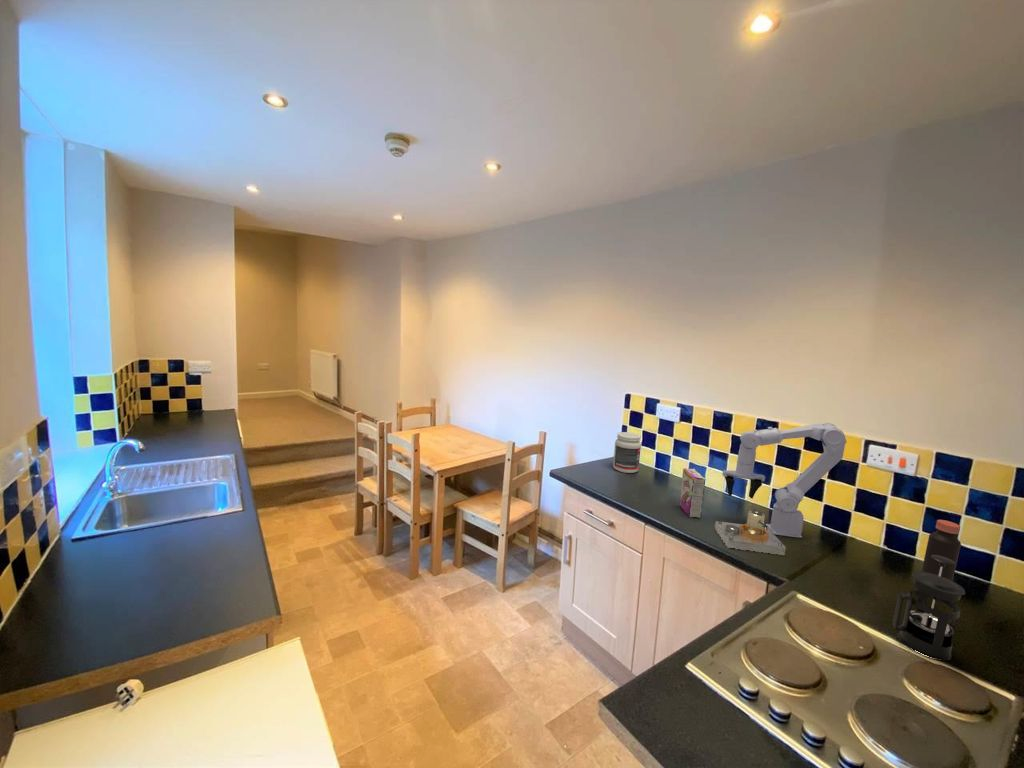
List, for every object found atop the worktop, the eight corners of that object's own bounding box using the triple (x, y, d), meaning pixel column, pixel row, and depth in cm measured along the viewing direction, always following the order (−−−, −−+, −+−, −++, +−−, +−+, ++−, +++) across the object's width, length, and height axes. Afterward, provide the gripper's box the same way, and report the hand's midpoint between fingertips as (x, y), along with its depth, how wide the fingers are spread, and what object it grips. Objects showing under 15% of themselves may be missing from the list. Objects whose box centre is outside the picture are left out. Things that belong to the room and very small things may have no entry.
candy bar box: (678, 505, 178) (682, 467, 175) (690, 506, 178) (694, 468, 175) (688, 517, 167) (693, 477, 164) (701, 518, 167) (706, 478, 164)
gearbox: (766, 535, 156) (768, 523, 155) (784, 555, 142) (786, 543, 141) (714, 528, 159) (716, 517, 158) (727, 548, 145) (728, 535, 144)
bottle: (914, 579, 132) (927, 519, 129) (927, 576, 135) (940, 517, 132) (942, 593, 126) (957, 530, 123) (955, 589, 128) (970, 527, 125)
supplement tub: (642, 474, 213) (646, 438, 210) (618, 474, 211) (621, 438, 208) (632, 465, 226) (635, 431, 223) (609, 465, 224) (612, 431, 221)
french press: (940, 639, 106) (960, 554, 103) (964, 667, 97) (987, 575, 94) (882, 625, 110) (899, 542, 107) (900, 650, 101) (920, 561, 98)
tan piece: (756, 530, 152) (760, 508, 151) (768, 541, 145) (773, 518, 144) (742, 529, 152) (746, 507, 151) (754, 540, 145) (758, 517, 144)
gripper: (761, 461, 165) (756, 494, 167) (722, 456, 167) (717, 489, 169) (769, 467, 158) (763, 501, 160) (728, 462, 160) (722, 496, 162)
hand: (740, 496), depth 164 cm, fingers open, 7 cm apart
